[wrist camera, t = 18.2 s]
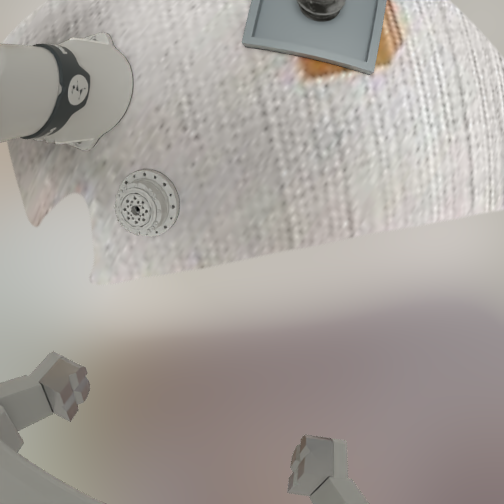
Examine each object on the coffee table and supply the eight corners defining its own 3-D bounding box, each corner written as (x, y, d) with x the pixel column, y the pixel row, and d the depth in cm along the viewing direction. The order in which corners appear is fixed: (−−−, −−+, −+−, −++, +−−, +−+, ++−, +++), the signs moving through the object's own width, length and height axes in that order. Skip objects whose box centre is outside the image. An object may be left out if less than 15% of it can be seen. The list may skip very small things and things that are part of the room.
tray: (245, 47, 35) (241, 42, 33) (269, -49, 28) (266, -57, 26) (369, 74, 34) (373, 72, 32) (386, -24, 27) (390, -31, 25)
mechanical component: (194, 205, 45) (148, 154, 43) (183, 214, 41) (134, 159, 39) (151, 246, 49) (110, 199, 47) (138, 257, 45) (94, 207, 43)
